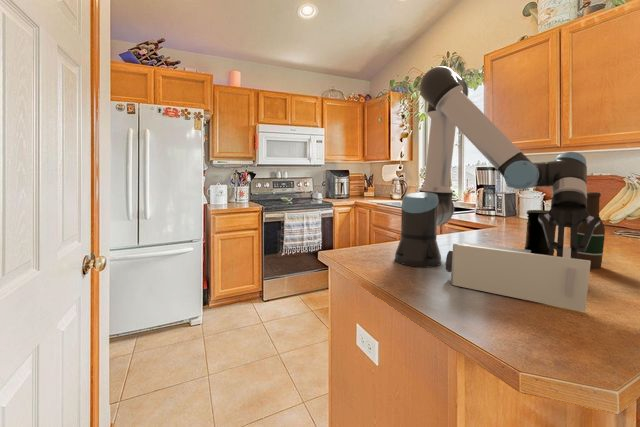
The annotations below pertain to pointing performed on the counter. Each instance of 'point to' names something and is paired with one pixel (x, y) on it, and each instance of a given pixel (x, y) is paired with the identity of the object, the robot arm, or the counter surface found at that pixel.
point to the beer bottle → (597, 238)
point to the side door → (522, 275)
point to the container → (538, 234)
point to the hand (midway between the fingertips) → (565, 273)
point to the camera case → (449, 255)
